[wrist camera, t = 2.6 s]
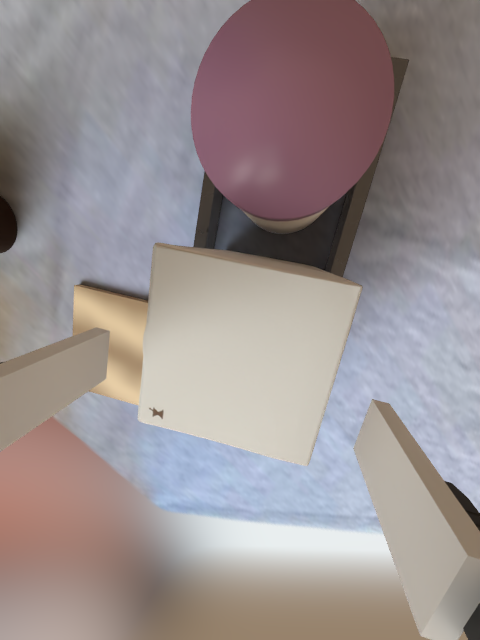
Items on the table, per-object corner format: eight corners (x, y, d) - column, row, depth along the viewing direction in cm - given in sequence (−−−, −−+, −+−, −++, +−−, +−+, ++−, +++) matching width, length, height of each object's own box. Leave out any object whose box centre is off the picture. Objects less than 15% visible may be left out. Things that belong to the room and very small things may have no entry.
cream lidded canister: (248, 123, 22) (208, -28, 10) (347, 140, 22) (428, -4, 9) (230, 225, 25) (178, 199, 12) (318, 243, 24) (355, 234, 12)
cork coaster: (80, 284, 28) (74, 285, 28) (186, 310, 27) (183, 311, 26) (76, 383, 32) (71, 386, 31) (171, 409, 30) (168, 413, 30)
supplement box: (295, 356, 27) (310, 476, 12) (210, 336, 28) (130, 426, 13) (319, 265, 24) (372, 284, 10) (224, 247, 25) (146, 239, 11)
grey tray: (232, 64, 21) (224, 35, 19) (391, 87, 20) (409, 59, 17) (186, 356, 29) (175, 367, 26) (301, 386, 27) (304, 401, 24)
